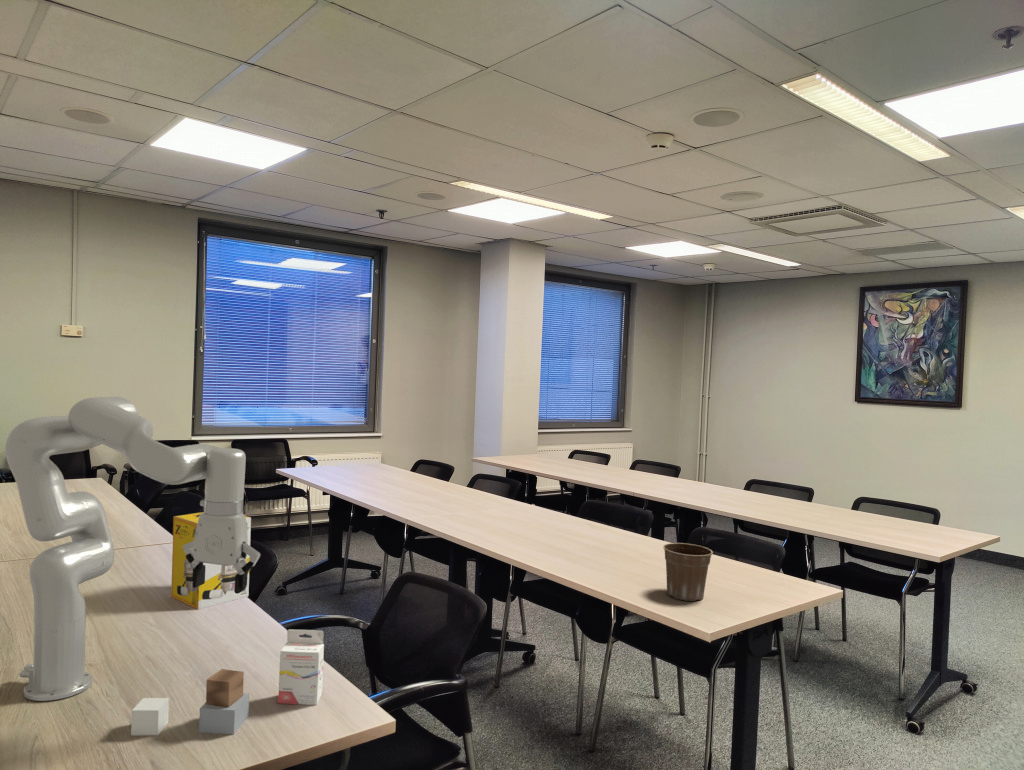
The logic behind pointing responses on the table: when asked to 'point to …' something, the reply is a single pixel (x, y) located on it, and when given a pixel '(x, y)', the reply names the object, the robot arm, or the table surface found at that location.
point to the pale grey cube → (150, 716)
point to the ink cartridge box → (301, 668)
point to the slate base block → (224, 717)
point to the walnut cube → (224, 688)
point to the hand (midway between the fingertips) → (219, 588)
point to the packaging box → (216, 576)
